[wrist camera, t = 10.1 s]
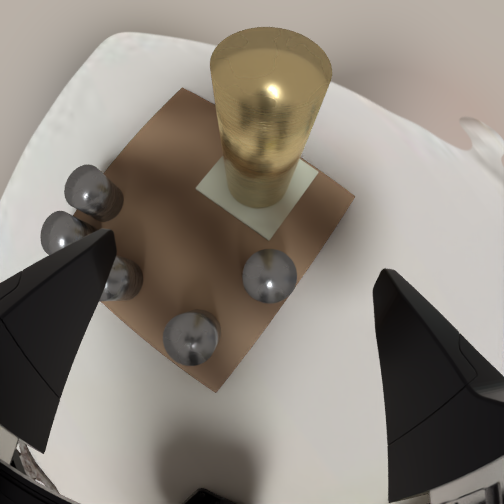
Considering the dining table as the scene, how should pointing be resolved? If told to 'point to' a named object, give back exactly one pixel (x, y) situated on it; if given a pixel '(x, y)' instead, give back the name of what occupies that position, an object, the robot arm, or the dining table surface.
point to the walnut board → (206, 231)
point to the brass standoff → (266, 108)
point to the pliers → (33, 467)
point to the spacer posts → (130, 275)
